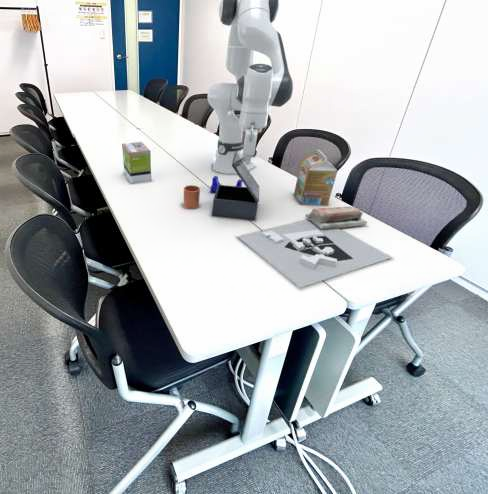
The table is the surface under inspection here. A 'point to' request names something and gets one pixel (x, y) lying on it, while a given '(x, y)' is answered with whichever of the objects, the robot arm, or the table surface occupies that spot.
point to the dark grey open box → (234, 203)
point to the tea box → (137, 162)
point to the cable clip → (216, 182)
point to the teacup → (191, 197)
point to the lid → (245, 176)
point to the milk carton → (315, 180)
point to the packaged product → (336, 217)
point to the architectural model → (312, 251)
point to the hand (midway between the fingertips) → (247, 161)
